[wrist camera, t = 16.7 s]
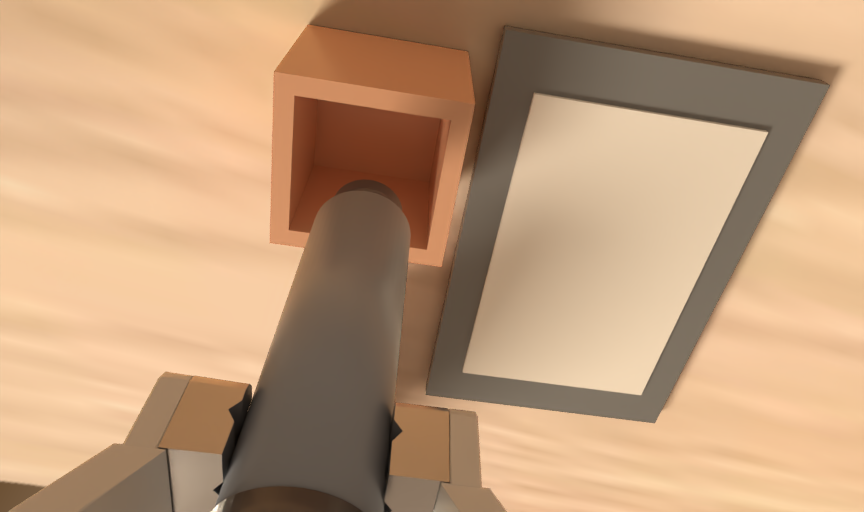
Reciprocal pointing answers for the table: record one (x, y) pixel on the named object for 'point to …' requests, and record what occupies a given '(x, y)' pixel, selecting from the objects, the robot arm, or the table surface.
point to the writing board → (606, 220)
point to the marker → (329, 367)
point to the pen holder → (369, 131)
